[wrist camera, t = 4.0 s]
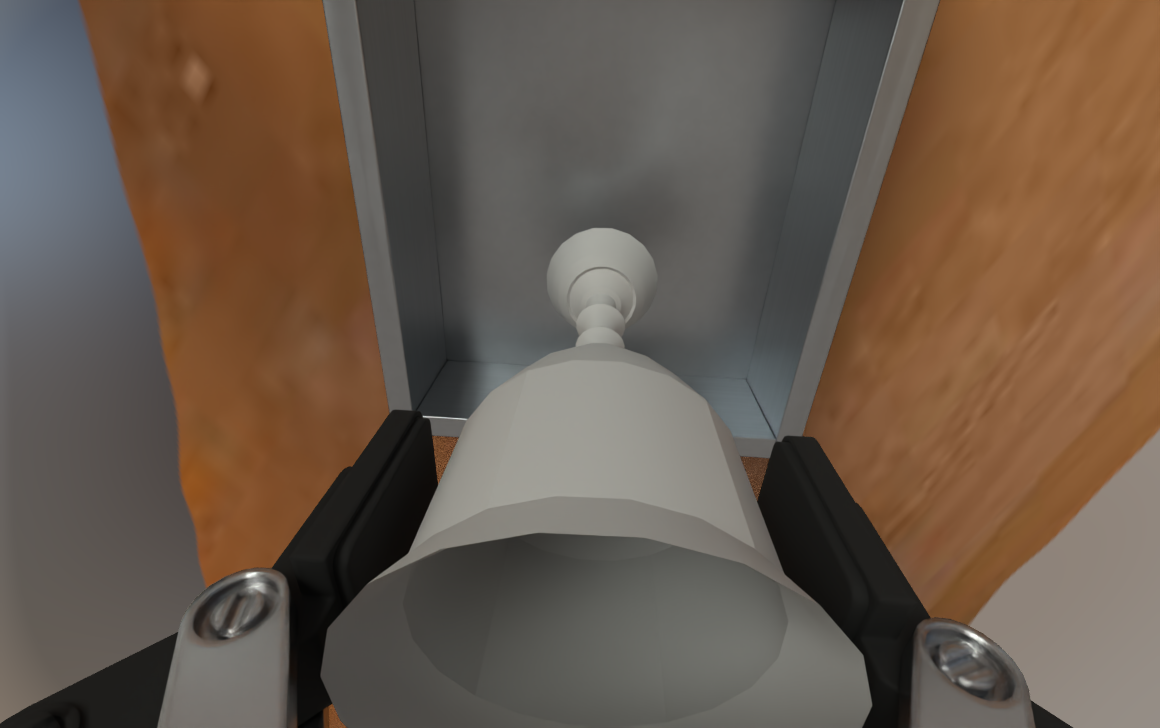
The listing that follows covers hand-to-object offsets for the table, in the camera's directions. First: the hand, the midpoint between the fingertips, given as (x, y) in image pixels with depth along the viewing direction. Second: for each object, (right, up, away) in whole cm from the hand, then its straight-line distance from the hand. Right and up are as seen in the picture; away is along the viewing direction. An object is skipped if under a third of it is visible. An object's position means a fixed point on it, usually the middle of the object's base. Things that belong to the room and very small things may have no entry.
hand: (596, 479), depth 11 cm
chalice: (+1, +6, +12) cm, 13 cm away
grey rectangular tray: (+1, +10, +10) cm, 14 cm away
